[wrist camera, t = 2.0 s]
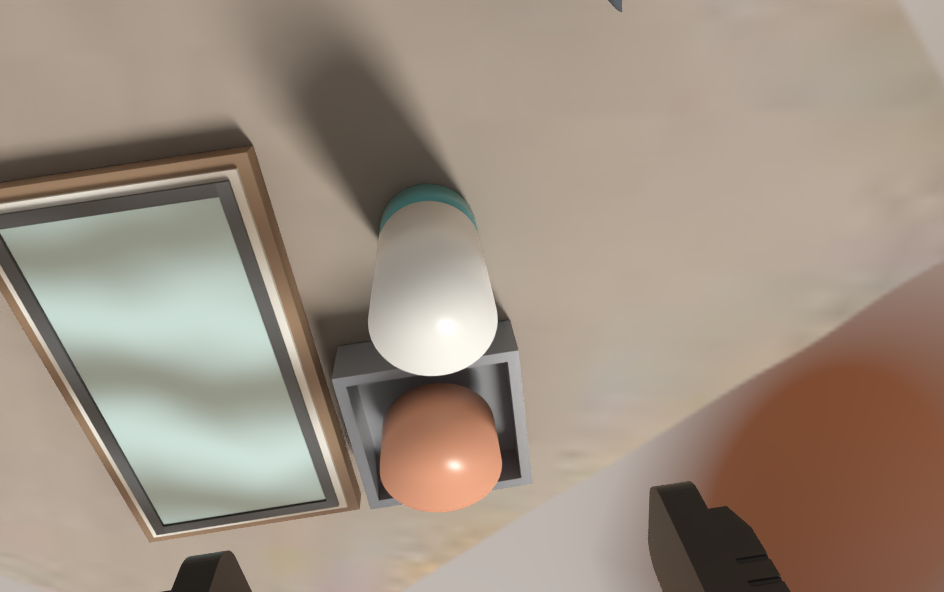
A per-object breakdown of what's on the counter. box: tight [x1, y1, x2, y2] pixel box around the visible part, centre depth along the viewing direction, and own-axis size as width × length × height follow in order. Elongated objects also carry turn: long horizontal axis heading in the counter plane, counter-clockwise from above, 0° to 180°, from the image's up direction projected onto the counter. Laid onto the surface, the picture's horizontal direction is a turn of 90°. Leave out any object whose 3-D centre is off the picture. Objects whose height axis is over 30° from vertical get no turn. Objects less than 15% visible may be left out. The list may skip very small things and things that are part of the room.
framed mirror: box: [0, 145, 361, 542], centre depth 27 cm, size 19×11×1 cm, turn 7°
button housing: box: [331, 320, 532, 509], centre depth 28 cm, size 8×8×2 cm
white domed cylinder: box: [368, 184, 498, 376], centre depth 22 cm, size 4×4×8 cm
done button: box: [380, 383, 502, 512], centre depth 26 cm, size 5×5×3 cm
